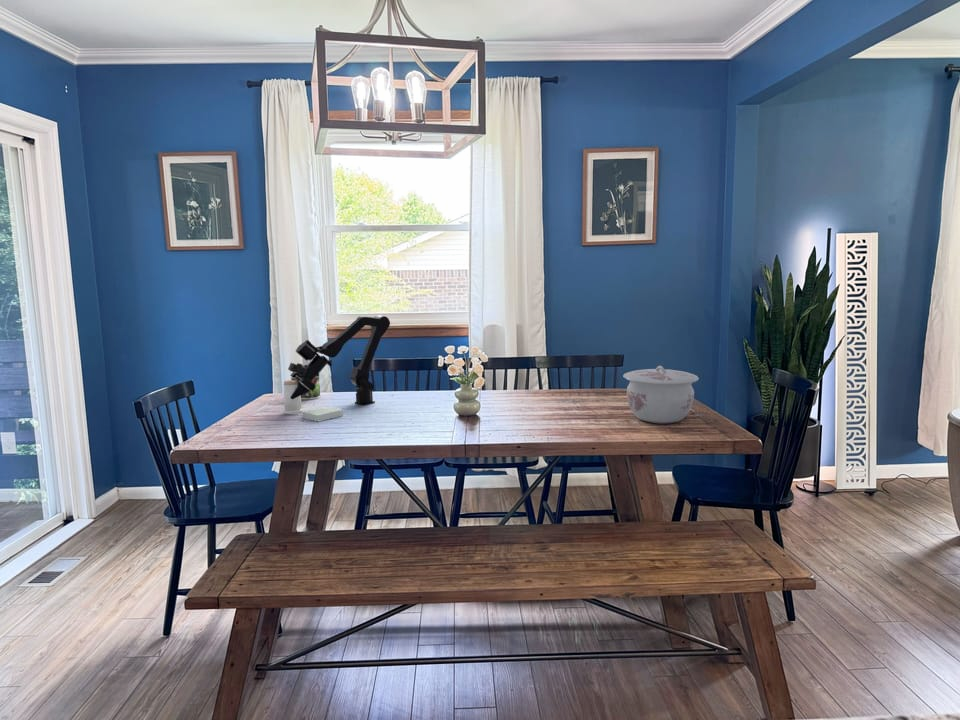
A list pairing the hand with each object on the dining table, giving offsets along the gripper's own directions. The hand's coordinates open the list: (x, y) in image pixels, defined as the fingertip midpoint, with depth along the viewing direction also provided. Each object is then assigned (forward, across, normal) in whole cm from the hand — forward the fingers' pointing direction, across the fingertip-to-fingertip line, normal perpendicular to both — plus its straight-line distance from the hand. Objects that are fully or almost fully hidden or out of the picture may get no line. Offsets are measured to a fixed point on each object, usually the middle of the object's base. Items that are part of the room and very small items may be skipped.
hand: (289, 397), depth 258 cm
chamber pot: (-78, +89, +87) cm, 147 cm away
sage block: (-2, +14, +11) cm, 18 cm away
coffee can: (-6, -26, +15) cm, 30 cm away
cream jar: (+4, 0, +6) cm, 7 cm away
